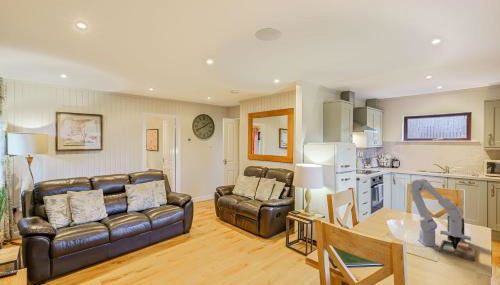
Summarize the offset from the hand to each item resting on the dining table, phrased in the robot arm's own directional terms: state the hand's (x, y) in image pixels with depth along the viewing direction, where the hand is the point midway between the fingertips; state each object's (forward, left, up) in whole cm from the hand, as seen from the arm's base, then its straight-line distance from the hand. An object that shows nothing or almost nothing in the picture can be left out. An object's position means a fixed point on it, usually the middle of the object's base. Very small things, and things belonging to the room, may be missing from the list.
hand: (455, 248), depth 151 cm
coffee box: (-20, +13, -3) cm, 24 cm away
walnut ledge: (-1, +6, -3) cm, 7 cm away
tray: (-5, -1, -3) cm, 6 cm away
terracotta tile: (-4, +7, -1) cm, 9 cm away
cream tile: (-2, -2, -2) cm, 4 cm away
